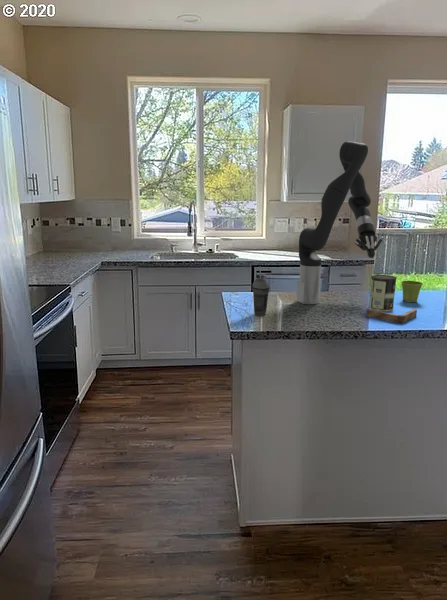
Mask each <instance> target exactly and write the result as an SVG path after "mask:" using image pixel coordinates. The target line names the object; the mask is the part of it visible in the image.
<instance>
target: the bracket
mask: <svg viewBox="0 0 447 600" xmlns="http://www.w3.org/2000/svg"><path fill="white" fill-rule="evenodd" d="M417 313H418V310H417V309H415V308H413V309H410V310H407V311H406V312H404V313H401V314H397V313H390V312H387V311H377V310H372V309H370V308H367V309H366V317H368V318H373V319H377V320H383V321H387V322H392V323H396V324H400V325H401V324H404V323H407V322H409V320H412V319H414V318H415V317H417Z"/></svg>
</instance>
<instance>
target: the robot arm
mask: <svg viewBox="0 0 447 600" xmlns="http://www.w3.org/2000/svg"><path fill="white" fill-rule="evenodd" d="M368 153H369V146H368V145H367V144H366V143H362V142H355V141H350V140H349V141H348V140H347V141H344V142H343V143H342V144H341V146H340V149H339V160H340V163H341V165H342V168H343V170H344V172H342V174H340V175H339V176H338V177H336V178H335V179H333V180H332V181H330V183H329V184H328V186H327V187H326V189H325V191H324V193H323V195H322V197H321V202H320V204H321V205H320V206H321V208H320V209H321V214H320V220H319V222H318V224H317V225H316V227H315V228H311V227H305V228H303V230H301V232H300V235H299V237H298V259H299V260H300V265H299V280H298V281H297V284H296V285H297V286H296V302H297V303H300V304H302V305H316V304H319V302H320V288H321V274H322V258H321V257H320V256H319V255H318V254H317V252H316V251H318V252H319V251H321V250H322V249H324V248H325V246H326V244H327V242H328V239H329V237H330V234H331V232H332V229H333V226H334V223H335V221H336V219H337V216H338V214H339V213H340V211H341V207H342V205H343V203H344V202H345V199H346V198H347V195H348V193H349V192H350V195H351V196H350V197H349V198H348V201H347V203H348V206H349V208H350V210H351V211H352V213H353V214H354V217H355V222H356V223H355V224H356V230H357V234H358V238H356V239H355V241H354V244H355V245H356V246H357V247H358V248H359V249H360V250H362V251H363V252H364V251H366V254H367V257H368V258H369V259H373V258H374V257H375V256H376V251H377V249H379V247H380V246H381V244H382V242H383V239H382V238H378V237H377V235H376V231H375V226H374V223H373V219H372V217H371V216H372V215H371V212H370V210H369V208H368V207H369V206H370V205H371V202H372V199H371V196H370V195H369V193H368V191H367V190H366V185H365V183H366V182H365V179H364V178H365V177H364V176H363V174H362V173H361V172H360V170H361V169H362V167H363V164H364V163H365V161H366V159H367V156H368ZM349 190H350V191H349ZM375 243H376V244H375Z"/></svg>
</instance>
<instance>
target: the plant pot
mask: <svg viewBox="0 0 447 600" xmlns="http://www.w3.org/2000/svg"><path fill="white" fill-rule="evenodd" d="M400 284H401V286H402V288H401V289H402V301H404V302H406V303H408V302H409V303H413V302H414V303H417V302H418V299H419V295H420V291H421V289H422V287H423V285H424V282H421V281H416V280H402V281H401V282H400Z"/></svg>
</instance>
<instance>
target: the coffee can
mask: <svg viewBox="0 0 447 600" xmlns="http://www.w3.org/2000/svg"><path fill="white" fill-rule="evenodd" d="M370 278H371V279H370V292H369V301H368V309H372V310H377V311H381V312H393V310H394V304H395V293H396V287H397V286H396V285H397V284H396V283H397V280H398V279H397V278H398V277H396V276H394V275H390V274H373V275H371V277H370Z"/></svg>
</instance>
